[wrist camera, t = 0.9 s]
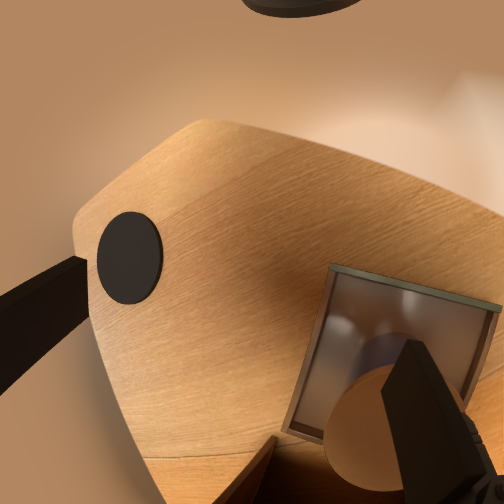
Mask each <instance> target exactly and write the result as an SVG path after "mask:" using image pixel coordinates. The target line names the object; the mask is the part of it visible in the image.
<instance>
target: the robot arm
mask: <svg viewBox="0 0 504 504" xmlns="http://www.w3.org/2000/svg"><path fill="white" fill-rule="evenodd" d="M88 317H89V308H88V282H87V260H86V259H83V258H80V257H77V256H72V257H70V258H68V259H66V260H64V261H62V262H61V263H59V264H57V265H55V266H53V267H51V268H50V269H48V270H46V271H44V272H42V273H40V274H38V275H36V276H35V277H33V278H31V279H29V280H27V281H26V282H24V283H22V284H20V285H19V286H17V287H15V288H13V289H12V290H10V291H8V292H7V293H5V294H3V295H2V296H0V396H1V395H2V394H3V393H4V392H5V391H6V390H7V389H8V388H9V387H10V386H11V385H12V384H13V383H14V382H15V381H16V380H17V379H19V378H20V377H21V376H22V375H23V374H24V373H25V372H26V371H27V370H28V369H30V368H31V367H32V366H33V365H34V364H35V363H36V362H37V361H38V360H39V359H41V358H42V357H43V356H44V355H45V354H46V353H47V352H48V351H49V350H51V349H52V348H53V347H54V346H55V345H56V344H58V343H59V342H60V341H61V340H62V339H63V338H64V337H66V336H67V335H68V334H69V333H70V332H71V331H72V330H74V328H76V327H77V326H78V325H79V324H81V323H82V322H83V321H84V320H85V319H86V318H88ZM380 392H381V396H382V399H383V403H384V407H385V411H386V415H387V419H388V422H389V426H390V431H391V435H392V439H393V443H394V447H395V452H396V456H397V461H398V465H399V470H400V475H401V480H402V485H403V490H404V495H405V501H406V504H504V475H497V473H496V471H495V468H494V466H493V464H492V461H491V459H490V457H489V454H488V452H487V450H486V448H485V446H484V444H482V442H483V441H482V439H481V437H480V435H478V431H477V429H476V426H475V424H474V422H473V421H472V420H471V419H470V418H469V417H468V416H467V415H466V413H465V412H460V410H459V407H458V405H457V403H456V401H455V399H454V397H453V395H452V394H451V392H450V390H449V388H448V386H447V384H446V382H445V380H444V378H443V376H442V374H441V373H440V371H439V369H438V367H437V365H436V363H435V362H434V360H433V358H432V356H431V354H430V353H429V351H428V349H427V347H426V346H425V344H424V342H423V341H418V340H413V339H407V340H406V342H405V344H404V347H403V349H402V351H401V353H400V355H399V357H398V359H397V361H396V363H395V365H394V366H393V368H392V370H391V372H390V374H389V376H388V378H387V380H386V381H385V383H384V385H383V387H382V389H381V390H380Z"/></svg>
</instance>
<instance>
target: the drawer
mask: <svg viewBox="0 0 504 504" xmlns="http://www.w3.org/2000/svg"><path fill="white" fill-rule="evenodd" d="M502 307H503V306H501V305H498V304H494V303H490V302H486V301H482V300H478V299H474V298H470V297H466V296H463V295H459V294H455V293H451V292H447V291H443V290H439V289H435V288H431V287H427V286H423V285H419V284H415V283H411V282H407V281H403V280H399V279H395V278H391V277H387V276H383V275H379V274H375V273H371V272H367V271H363V270H359V269H355V268H351V267H347V266H343V265H339V264H335V263H330V265H329V271H328V275H327V279H326V283H325V287H324V291H323V295H322V299H321V302H320V306H319V310H318V313H317V317H316V321H315V324H314V328H313V331H312V335H311V338H310V342H309V345H308V348H307V352H306V355H305V358H304V361H303V365H302V368H301V371H300V374H299V377H298V381H297V384H296V387H295V390H294V393H293V396H292V399H291V402H290V405H289V408H288V411H287V414H286V416H285V419H284V422H283V425H282V428H281V432H284V433H287V434H290V435H293V436H296V437H298V438H301V439H304V440H307V441H310V442H313V443H316V444H320V445H323V446H324V444H323V436H324V429H325V425H326V421H327V419H328V417H329V414H330V412H331V410H332V407H333V405H334V403H335V402H336V400H337V398H338V397H339V396H340V395H341V393H342V390H343V388H344V385H345V382H346V379H347V376H348V373H349V370H350V367H351V365H352V362H353V359H354V357H355V355H356V354H357V352H358V351H359V350H360V349H361V347H362V346H363V345H365V344H366V343H367V342H368V341H370V340H371V339H373V338H375V337H376V336H379V335H382V334H385V333H391V332H400V333H406V334H409V335H411V336H414V337H415V338H417V339H418V340H420V341H423V342H424V344H425V346H426V347H427V349H428V351H429V353H430V354H431V356H432V357H433V359H434V361H435V362H436V364H437V366H438V367H439V369H440V370H441V372H442V374H443V375H444V376H445V377H447V378H448V379H449V380H450V381H451V383H452V384H453V385H454V387H455V388H456V390H457V392H458V393H459V395H460V397H461V399H462V401H463V404H464V407H465V409H466V407H467V405H468V403H469V400H470V398H471V396H472V393H473V391H474V389H475V386H476V384H477V381H478V379H479V376H480V373H481V371H482V368H483V365H484V362H485V360H486V357H487V354H488V351H489V348H490V345H491V341H492V338H493V335H494V332H495V328H496V325H497V321H498V317H499V313H501V311H502Z"/></svg>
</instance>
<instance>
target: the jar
mask: <svg viewBox="0 0 504 504" xmlns="http://www.w3.org/2000/svg"><path fill="white" fill-rule="evenodd" d="M407 339H413V340H418V339H417V338H415V337H414V336H411V335H409V334H406V333H400V332H391V333H385V334H382V335H379V336H376V337H375V338H373V339H371V340H370V341H368V342H367V343H366V344H365V345H363V346H362V347H361V349H360V350H359V351H358V352H357V354H356V355H355V357H354V359H353V362H352V365H351V367H350V370H349V373H348V376H347V379H346V382H345V385H344V388H343V390H342V393H341V395H340V396H339V397H338V398H337V400H336V402H335V403H334V405H333V407H332V410H331V412H330V414H329V417H328V419H327V421H326V425H325V429H324V436H323V444H324V450H325V454H326V457H327V459H328V461H329V463H330V465H331V466H332V468H333V469H334V470H335V472H336V473H337V474H338V475H339V476H341V477H342V478H343V479H344V480H346V481H347V482H349V483H351V484H353V485H355V486H357V487H360V488H363V489H367V490H372V491H396V490H401V489H403V485H402V480H401V475H400V470H399V465H398V461H397V456H396V452H395V447H394V443H393V439H392V435H391V431H390V426H389V422H388V419H387V415H386V411H385V407H384V403H383V399H382V396H381V392H380V390H381V389H382V387H383V385H384V383H385V381H386V380H387V378H388V376H389V374H390V372H391V370H392V368H393V366H394V365H395V363H396V361H397V359H398V357H399V355H400V353H401V351H402V349H403V347H404V344H405V342H406V340H407ZM418 341H420V340H418ZM432 358H433V357H432ZM433 360H434V359H433ZM434 362H435V361H434ZM435 363H436V362H435ZM436 365H437V364H436ZM437 367H438V366H437ZM438 369H439V367H438ZM439 371H440V373H441V374H442V372H441V370H440V369H439ZM442 376H443V378H444V380H445V382H446V384H447V386H448V388H449V390H450V392H451V394H452V395H453V397H454V399H455V401H456V403H457V405H458V407H459V410H460V412H465V407H464V404H463V401H462V399H461V397H460V395H459V393H458V392H457V390H456V388H455V387H454V385H453V384H452V383H451V381H450V380H449V379H448V378H447V377H445V376H444V375H443V374H442ZM465 413H466V412H465Z"/></svg>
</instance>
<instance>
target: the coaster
mask: <svg viewBox="0 0 504 504" xmlns="http://www.w3.org/2000/svg"><path fill="white" fill-rule="evenodd" d="M162 263H163V248H162V242H161V238H160V235H159V233H158V230H157V228H156V227H155V225H154V224H153V222H152V221H151V220H150V219H149V218H148V217H146V216H145V215H143V214H141V213H137V212H125V213H121V214H120V215H118V216H116V217H115V218H114V219H113V220H112V221H111V222H110V223H109V224H108V225H107V227H106V228H105V230H104V232H103V234H102V236H101V239H100V242H99V246H98V252H97V269H98V274H99V278H100V281H101V284H102V286H103V288H104V290H105V291H106V293H107V294H108V295H109V296H110V297H111V298H112V299H113V300H115V301H116V302H118V303H121V304H126V305H127V304H136V303H139V302H141V301H143V300H144V299H146V298H147V297H148V296H149V295H150V294H151V292H152V291H153V290H154V288H155V286H156V284H157V282H158V280H159V277H160V274H161V270H162Z"/></svg>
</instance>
